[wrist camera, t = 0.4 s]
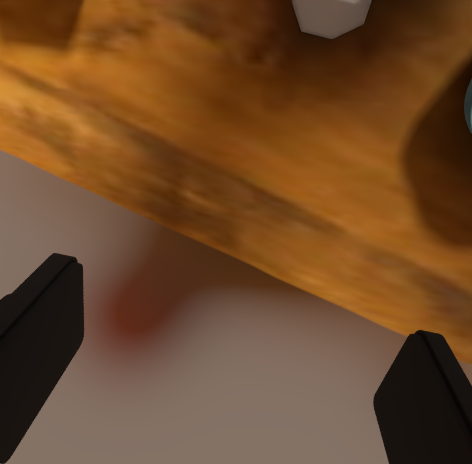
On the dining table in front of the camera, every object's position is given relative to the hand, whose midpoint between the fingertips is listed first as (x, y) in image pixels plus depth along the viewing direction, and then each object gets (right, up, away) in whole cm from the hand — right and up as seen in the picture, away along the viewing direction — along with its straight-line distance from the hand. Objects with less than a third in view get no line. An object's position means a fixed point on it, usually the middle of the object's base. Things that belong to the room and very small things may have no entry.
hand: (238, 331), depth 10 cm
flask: (+8, +24, +21) cm, 33 cm away
